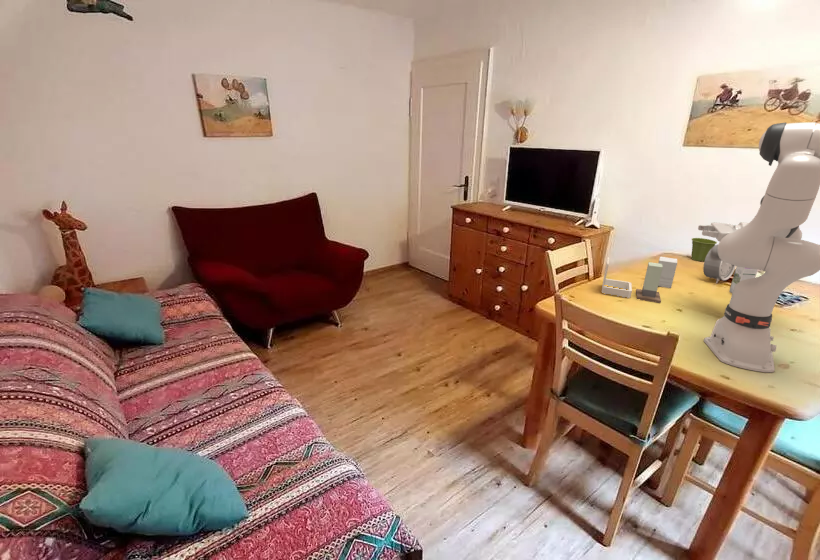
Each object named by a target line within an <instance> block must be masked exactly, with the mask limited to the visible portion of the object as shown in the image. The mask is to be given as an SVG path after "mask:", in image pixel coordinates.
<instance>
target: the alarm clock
mask: <svg viewBox="0 0 820 560" xmlns="http://www.w3.org/2000/svg"><path fill="white" fill-rule="evenodd" d="M717 248H718V244H715V246H714V247H712V249H711V250H710V251H709V252H708V254H707V256H706V258H705V261H704V262H703V268H702V269H703V271H702V272H703V274H704V276H705V277H706V278H709V279H710V280H711V279H715V280H716V282H715V284H718V283H719V281H720V280H721V281H727V280H729V279H730V278H731V277H732V275H734V273H735V270H736V267H737V266H735V265H732V264H729V263H726V262H723V261H722V260H721V259H720V258H719V256H718V252H717Z"/></svg>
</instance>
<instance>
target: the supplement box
mask: <svg viewBox="0 0 820 560" xmlns="http://www.w3.org/2000/svg"><path fill="white" fill-rule="evenodd" d="M657 263H659V264H662V266H663V268H662V272H661V276H660V280H659V285H658V287H661V288H666V289H667V288H668V289H671V288H672V286H673V283H674V282H673V281H674V278H675V274H676V270H677V267H678V258H671V257H667V256H659V259H658V262H657Z"/></svg>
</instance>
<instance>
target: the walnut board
mask: <svg viewBox="0 0 820 560" xmlns="http://www.w3.org/2000/svg"><path fill="white" fill-rule="evenodd" d="M635 293H636V294H635V295H637V297H636V300H637V299H640V300H639V301H643V300H645V301H644V302H650V303H651V302H652V303H655V304H656V303H657V304H661V303H662V299H661V295H660V292H659V291H657V293H656V297H655V298H653V297H647V296H642V288H641V289H639V288H636V290H635Z"/></svg>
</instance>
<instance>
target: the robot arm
mask: <svg viewBox="0 0 820 560" xmlns="http://www.w3.org/2000/svg"><path fill="white" fill-rule="evenodd" d="M758 150H759V155H760V157H761V158H762V160H764V161H766V162H768V166H770V167H771V166H772V165H773V163H774V161H775V162H777V166H776V168H775V169H774V172H773V173H772V176H771V178H770V180H769V182H768V184H767V187H766V190H765V193H764V195H763V196H762V198H761V199H760V202H759V205H760V206H759V208H758V211H757V212H756V214H755V216H754V218H752V219H751V221H750V222H741V221H740V222H739V223H738V224H737V225H736V224H734V225H733V224H732V223H724V222H710V224H705V225H701V224H700V225H698V227H697V229H698V231H702V232H701V235H702V236H705V237H709V238H715V239H716V241H717V242H719V243H718V244H717V245H718V248H717V252H718V256H719V258H720V259H721V260H722V261H723V262H726V263H729V264H732V265H735V266H736V267H737V266H739V267H745V268H751V269H757V270H758V271H762V272H764V273H763V274H761V275H760V276H757V277H755V278H750V279H745V280H742V281H740V282H739V283H737V284H736V285H735V287H734V290H733V293H731V297H730V300H729V303H728V304H727V305H726V307H725V309H724V313H723V316H722V317H720V318H719V319H717V320H716V322H714V323H715V324H714V326H713V329H712V332H711V333H710V336H706V337H704V339H703V342H704V343H705V344H706V346H708V348H709V349H710V350H711V352H712V353H713V354H714V355H715V356H716V357H717V359H719V361H720V362H722V363H724V364H727V365H729V366H732V367H736V368H740V369H745V370H750V371H754V372H761V373H762V372H763V373H774V372H775V363H774V362H775V361H774V355H773V353H776V350H777V344H772V342H771V341H774V336H771V330H772V329H771V324H772V321H773V319H772V318H773V314H772V313H773V310H774V307H775V305H776V303H777V300H778V299H779V297H780V295H781V294H782V293H783V292H784V290H785V289H786V288H787V287H789V286H790V285H791V284H794V283H795V282H796V281H799V280H801V279H804V278H806V277H811V276H813V275H815V274H817V273H818V272H819V271H820V244H818V243H814V242H811V241H808V240H803V231H802V230H801V228H800V226H801V225H803V224H804V223H805V222H806V221H807V220H808V218H809V216H810V213H811V211H812V207H813V205H814V203H815V200H816V198H817V195H818V192H819V191H820V122H815V121H811V122H810V121H809V122H789V123H787V122H778V123H774V124H772V125H770V126H769V127H768V128H767V129H766V130H765V131H764V133H763V134H762V135H761V137H760V139H759V142H758Z"/></svg>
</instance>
